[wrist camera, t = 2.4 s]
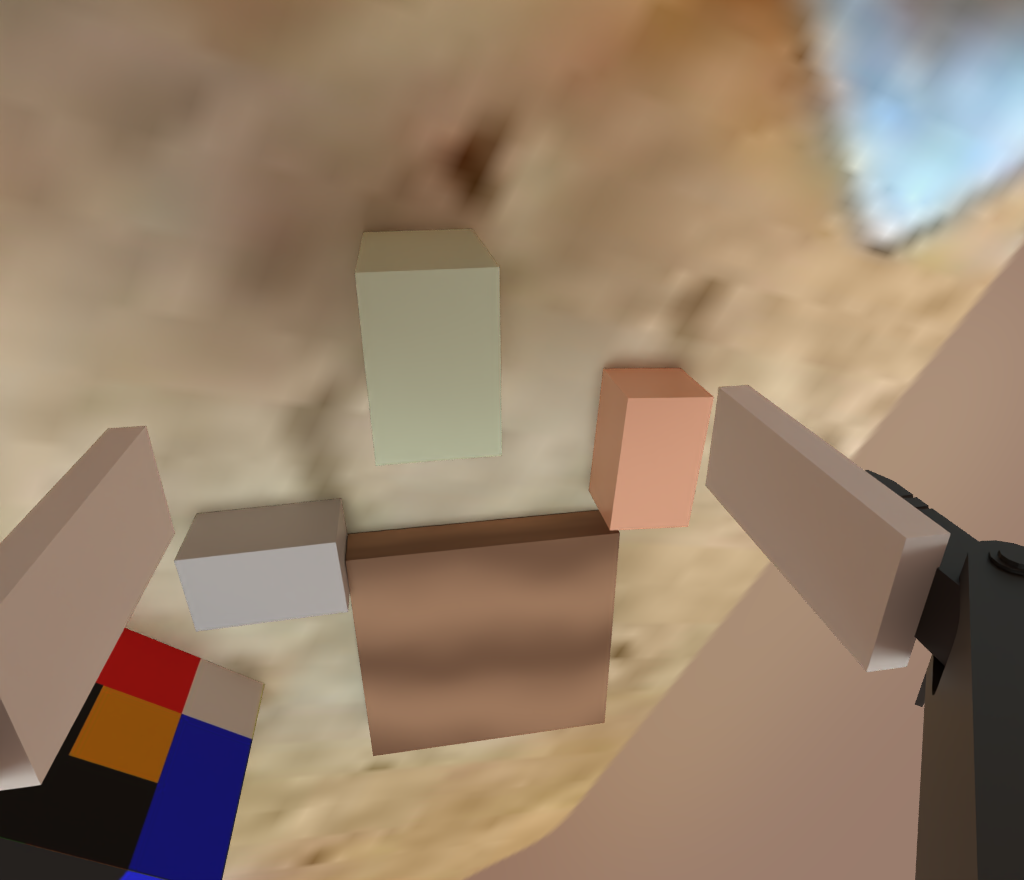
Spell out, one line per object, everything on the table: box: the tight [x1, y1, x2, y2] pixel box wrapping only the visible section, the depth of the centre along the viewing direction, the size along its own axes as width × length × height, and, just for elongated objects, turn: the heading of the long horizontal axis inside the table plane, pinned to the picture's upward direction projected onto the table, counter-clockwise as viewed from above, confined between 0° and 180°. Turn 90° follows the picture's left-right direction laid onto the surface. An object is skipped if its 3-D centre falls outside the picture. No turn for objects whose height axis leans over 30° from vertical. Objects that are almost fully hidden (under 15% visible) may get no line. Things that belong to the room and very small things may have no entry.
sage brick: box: [355, 229, 502, 466], centre depth 23 cm, size 6×4×7 cm, turn 0°
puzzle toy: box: [0, 628, 264, 880], centre depth 28 cm, size 10×10×10 cm
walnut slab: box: [345, 510, 620, 756], centre depth 32 cm, size 12×12×2 cm
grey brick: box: [174, 498, 350, 631], centre depth 28 cm, size 6×4×4 cm, turn 92°
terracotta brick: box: [589, 368, 714, 530], centre depth 28 cm, size 6×4×4 cm, turn 177°
